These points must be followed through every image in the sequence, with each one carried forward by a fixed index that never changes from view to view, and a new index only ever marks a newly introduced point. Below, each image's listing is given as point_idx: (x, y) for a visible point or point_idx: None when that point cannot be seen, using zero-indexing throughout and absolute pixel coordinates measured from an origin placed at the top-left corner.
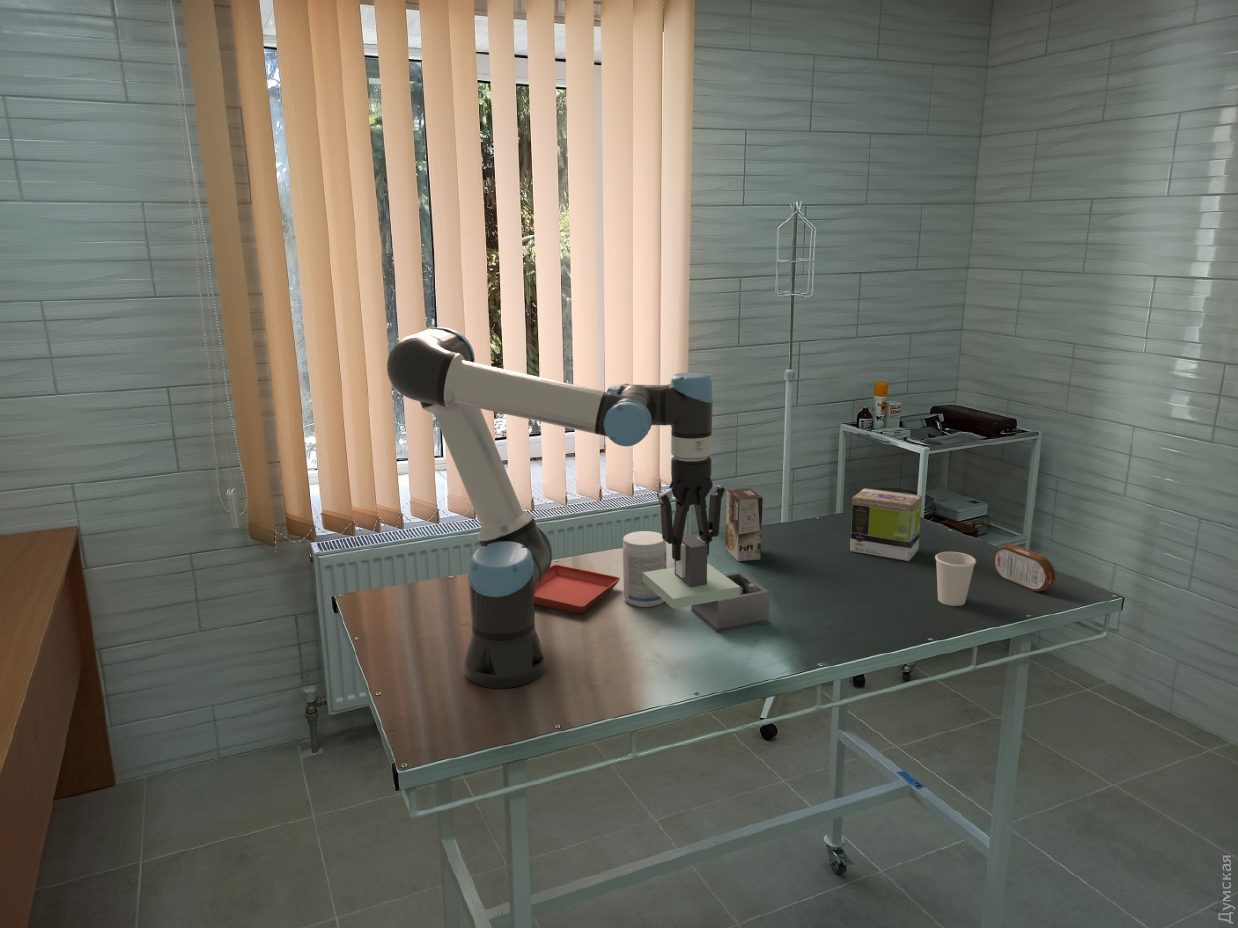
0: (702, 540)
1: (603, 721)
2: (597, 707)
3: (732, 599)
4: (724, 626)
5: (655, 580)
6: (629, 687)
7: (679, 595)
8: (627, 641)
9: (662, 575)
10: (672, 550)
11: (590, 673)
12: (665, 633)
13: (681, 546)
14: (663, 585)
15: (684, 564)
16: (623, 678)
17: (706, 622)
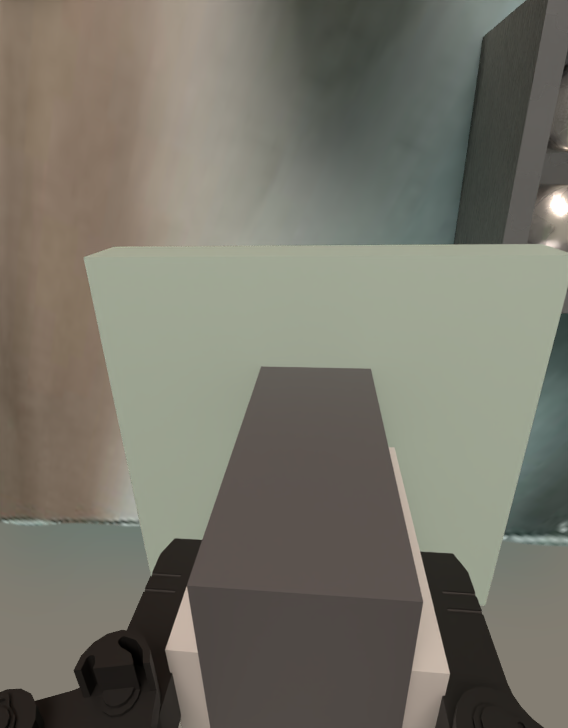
0: (433, 726)
1: (30, 523)
2: (23, 483)
3: (562, 311)
4: None
5: (129, 394)
6: (100, 445)
7: None
8: (149, 219)
9: (188, 348)
10: (141, 608)
11: (18, 357)
12: (287, 212)
13: (183, 716)
14: (151, 464)
15: None
16: (94, 408)
17: (462, 192)
